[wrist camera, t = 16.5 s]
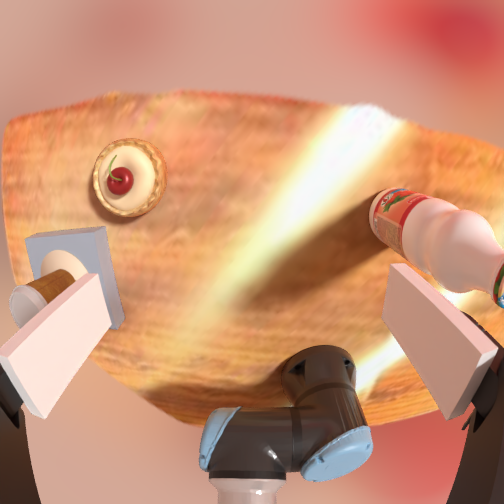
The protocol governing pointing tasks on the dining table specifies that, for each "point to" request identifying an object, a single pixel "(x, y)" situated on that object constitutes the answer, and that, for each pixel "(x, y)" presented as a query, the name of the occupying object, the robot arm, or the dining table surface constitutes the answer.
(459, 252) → the fruit juice
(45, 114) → the dining table surface
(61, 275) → the disposable coffee cup
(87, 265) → the serving stand
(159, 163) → the pastry
